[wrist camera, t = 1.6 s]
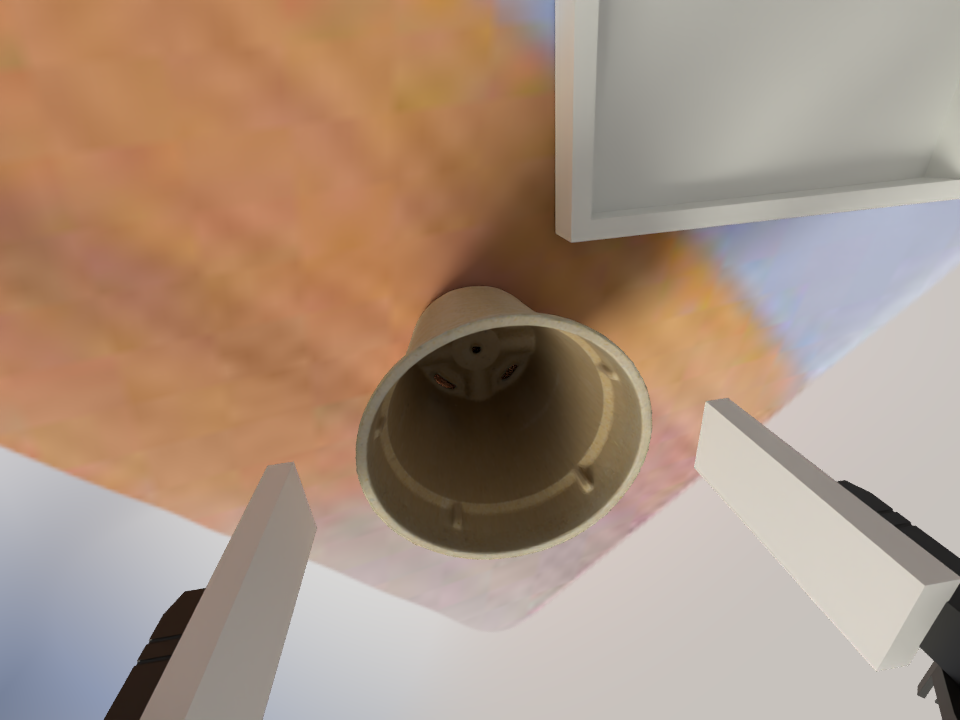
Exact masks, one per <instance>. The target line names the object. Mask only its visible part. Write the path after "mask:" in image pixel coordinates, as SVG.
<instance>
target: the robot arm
mask: <svg viewBox="0 0 960 720" xmlns="http://www.w3.org/2000/svg"><path fill="white" fill-rule="evenodd" d="M694 468H695V469H696V470H697V471H698V473H699V474H700V475H701V476H702V477H703V478H704V479H705V480H706V482H707V483H708V484H709V485H710V486H711V487H712V488H713V489H714V490H715V492H716V493H717V494H718V495H719V496H720V497H721V498H722V499H723V501H724V502H725V503H726V504H727V505H728V506H729V507H730V508H731V509H732V511H733V512H734V513H735V514H736V515H737V516H738V517H739V518H740V520H741V521H742V522H743V523H744V524H745V525H746V526H747V527H748V529H749V530H750V531H751V532H752V533H753V534H754V535H755V536H756V538H758V540H759V541H760V542H761V543H762V544H763V545H764V546H765V547H766V549H767V550H768V551H769V552H770V553H771V554H772V555H773V557H774V558H775V559H776V560H777V561H778V562H779V563H780V564H781V566H782V567H783V568H784V569H785V570H786V571H787V572H788V573H789V574H790V576H791V577H793V579H794V580H795V581H796V582H797V583H798V584H799V586H800V587H801V588H802V589H803V590H804V591H805V592H806V593H807V595H808V596H809V597H810V598H811V599H812V600H813V601H814V602H815V604H816V605H817V606H818V607H819V608H820V609H821V610H822V611H823V612H824V614H825V615H826V616H827V617H828V618H829V619H830V620H831V622H832V623H833V624H834V625H835V626H836V627H837V628H838V629H839V631H840V632H841V633H842V634H843V635H844V636H845V637H846V638H847V639H848V640H849V642H850V643H851V644H852V645H853V646H854V647H855V648H856V649H857V651H858V652H859V653H860V654H861V655H862V656H863V657H864V659H865V660H866V661H867V662H868V663H869V664H870V665H871V666H872V667H873V669H874V670H875V671H876V672H877V671H882V670H887V669H892V668H897V667H902V666H907V665H909V664H910V663H911V661H912V659H913V658H914V656H915V654H916V653H917V651H918V650H919V648H921V649H923V651H925V653H927V654H928V655H929V656H930V657H931V658H932V659H933V660H934V662H933V664H932V665H931V667H930V668H929V670H928V671H927V673H926V674H925V676H924V677H923V679H922V680H921V682H920V683H919V685H918V693H917V695H918V696H920V697H923V698H925V697H926V696H927V694H928V693H929V691H930V690H931V688H932V687H933V685H934V688H935V692H936V696H937V699H936V700H935V703H937V704H939V708H940V712H941V716H942V720H960V558H958V557H957V556H956V555H954V554H953V553H952V552H951V551H949V550H948V549H946V548H945V547H944V546H942V545H941V544H940V543H938V542H937V541H936V540H934V539H933V538H932V537H930V536H929V535H927V534H926V533H925V532H923V531H922V530H921V529H919V528H918V527H917V526H912V525H911V522H910V521H908V520H907V519H905V518H904V517H903V516H901V515H900V514H899V513H898V512H893V509H892V508H891V507H889V506H888V505H887V504H885V503H884V502H882V501H881V500H880V499H878V498H877V497H876V496H874V495H873V494H872V493H870V492H868V491H866V490H864V489H862V488H860V487H858V486H855V485H853V484H852V483H850V482H848V481H845V480H844V481H838V482H836V481H835V480H834V479H832V478H831V477H830V476H828V475H827V474H826V473H824V472H823V471H822V470H821V469H819V468H818V467H817V466H816V465H814V464H813V463H812V462H810V461H809V460H808V459H806V458H805V457H804V456H803V455H801V454H800V453H799V452H797V451H796V450H795V449H793V448H792V447H791V446H790V445H788V444H787V443H785V442H784V441H783V440H782V439H780V438H779V437H778V436H777V435H775V434H774V433H773V432H771V431H770V430H769V429H767V428H766V427H765V426H764V425H762V424H761V423H760V422H758V421H757V420H756V419H755V418H753V417H752V416H751V415H749V414H748V413H747V412H745V411H744V410H743V409H742V408H740V407H739V406H738V405H736V404H735V403H734V402H732V401H731V400H730V399H729V398H724V399H718V400H711V401H706V402H705V408H704V414H703V420H702V425H701V431H700V437H699V442H698V448H697V454H696V460H695V465H694ZM316 529H317V526H316V524H315V521H314V518H313V515H312V512H311V509H310V507H309V504H308V501H307V498H306V495H305V492H304V490H303V487H302V484H301V481H300V478H299V475H298V473H297V470H296V467H295V464H294V462H288V463H282V464H275V465H268V466H267V468H266V470H265V472H264V474H263V476H262V478H261V480H260V482H259V484H258V486H257V488H256V490H255V492H254V494H253V496H252V498H251V500H250V502H249V504H248V506H247V507H246V509H245V511H244V513H243V515H242V517H241V519H240V521H239V523H238V525H237V527H236V529H235V531H234V533H233V535H232V537H231V539H230V541H229V543H228V545H227V547H226V549H225V551H224V553H223V555H222V557H221V559H220V561H219V563H218V565H217V567H216V569H215V571H214V573H213V575H212V577H211V579H210V581H209V583H208V585H207V587H206V588H203V589H198V590H191V591H185V592H184V593H183V594H182V595H181V596H180V597H179V598H178V599H177V601H176V602H175V603H174V604H173V605H172V606H171V607H170V608H169V609H168V610H167V611H166V613H164V614H163V616H162V618H161V620H160V621H159V623H158V625H157V627H156V628H155V630H154V632H153V634H152V636H151V638H150V639H149V644H147V645H146V646H145V648H144V650H143V651H142V653H141V655H140V657H139V658H138V660H137V665H136V666H134V667H133V669H132V671H131V672H130V674H129V676H128V678H127V680H126V681H125V683H124V685H123V687H122V688H121V690H120V692H119V694H118V696H117V697H116V699H115V701H114V702H113V704H112V706H111V708H110V709H109V711H108V713H107V715H106V717H105V718H104V720H263V716H264V713H265V709H266V705H267V702H268V699H269V695H270V691H271V688H272V685H273V681H274V677H275V674H276V670H277V667H278V663H279V660H280V656H281V653H282V649H283V645H284V642H285V639H286V635H287V631H288V628H289V625H290V621H291V617H292V614H293V610H294V607H295V603H296V600H297V596H298V593H299V589H300V586H301V582H302V579H303V575H304V571H305V568H306V565H307V561H308V558H309V554H310V550H311V547H312V543H313V540H314V536H315V533H316Z"/></svg>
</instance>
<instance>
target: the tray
mask: <svg viewBox="0 0 960 720" xmlns="http://www.w3.org/2000/svg"><path fill="white" fill-rule="evenodd" d="M953 199H960V0H555V233H556V234H557V235H559V236H561V237H562V238H564V239H566V240H567V241H569V242H571V243H573V242H582V241H591V240H600V239H609V238H617V237H626V236H635V235H644V234H653V233H662V232H670V231H679V230H688V229H697V228H706V227H715V226H724V225H732V224H741V223H750V222H759V221H768V220H777V219H785V218H794V217H803V216H812V215H821V214H830V213H838V212H847V211H856V210H865V209H874V208H883V207H892V206H900V205H909V204H918V203H927V202H936V201H945V200H953Z"/></svg>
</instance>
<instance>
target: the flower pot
mask: <svg viewBox="0 0 960 720" xmlns="http://www.w3.org/2000/svg"><path fill="white" fill-rule="evenodd" d="M474 346H476V347H477V346H478V347H480V348H481V350H480V352H479V353H474V352H472V347H474ZM513 364H515V365H518V367H517V368H516V369H515V371H514V372H513V373H512V374H511V375H510V376H509V377H508V378H506V379H501V377H502V376H503V375H504V374H505V372H506V369H509V368H510V367H511V366H512V365H513ZM436 374H438V375H440V376H441V377H442V378H444V379H445V380H447V381H448V382H450V383H451V384H454V385H455V388H454V389H451V388H446V387H443V386H442V385H441V384H439V383H438V382H437V381H436V380H435V378H434V376H435V375H436ZM651 433H652V410H651V403H650V398H649V394H648V391H647V387H646V385H645V383H644V381H643V378H642V377H641V376H640V373H639V371H638V370H637V369H636V367H635V365H634V363H633V362H632V361H631V360H630V359H629V358H628V356H626V355H625V353H624V352H623V351H622V350H621V349H620V348H619V347H618V346H617V345H615V344H614V343H613V342H612V341H610V340H609V339H608V338H607V337H605V336H604V335H602V334H601V333H599V332H597V331H595V330H594V329H592V328H590V327H588V326H586V325H583V324H581V323H578V322H576V321H574V320H571V319H568V318H563V317H560V316H556V315H551V314H544V313H536V312H535V311H533V310H532V309H530V308H529V307H527V306H526V305H525V304H523V303H522V302H521V301H520V300H519V299H517V298H516V297H514V296H513V295H511V294H509V293H507V292H505V291H503V290H501V289H498V288H494V287H490V286H471V287H464V288H460V289H455V290H452V291H450V292H448V293H446V294H444V295H442V296H441V297H439V298H438V299H436V300H435V301H434V302H432V303H431V304H430V305H429V306H428V307H427V308H426V310H425V311H424V312H423V313H422V315H421V316H420V318H419V320H418V322H417V324H416V326H415V329H414V331H413V335H412V338H411V341H410V344H409V347H408V350H407V352H406V355H405V356H404V357H403V358H402V359H401V360H399V361H398V362H397V363H396V364H395V365H394V366H393V367H392V368H391V369H390V370H389V372H388V373H387V374H386V375H385V376H384V378H383V379H382V380H381V382H380V383H379V385H378V386H377V388H376V390H375V391H374V393H373V394H372V396H371V398H370V400H369V402H368V404H367V406H366V408H365V410H364V413H363V416H362V418H361V422H360V425H359V430H358V434H357V441H356V466H357V474H358V479H359V481H360V484H361V487H362V489H363V493H364V494H365V497H366V498H367V500H368V502H369V503H370V505H371V508H372V509H373V511H374V512H375V513H376V514H377V515H378V516H379V517H380V519H381V520H382V521H383V522H384V523H386V524H387V526H388V527H389V528H391V529H392V530H393V531H394V532H396V533H397V534H398V535H400V536H402V537H404V538H406V539H407V540H409V541H411V542H412V543H413V544H415V545H419V546H421V547H423V548H426V549H429V550H432V551H434V552H437V553H441V554H445V555H448V556H453V557H459V558H466V559H477V560H478V559H502V558H509V557H517V556H523V555H526V554H531V553H535V552H539V551H543V550H545V549H547V548H551V547H553V546H555V545H558V544H561V543H564V542H565V541H567V540H569V539H572V538H573V537H575V536H577V535H578V534H579V533H581V532H584V531H585V530H586V529H587V528H589V527H590V526H592V525H594V524H596V523H597V522H598V520H600V519H601V518H603V517H604V516H605V515H607V514H608V512H609V511H611V508H612V507H613V506H615V505H616V504H617V502H618V501H619V500H620V499H621V498H622V497H623V495H624V494H625V493H626V492H627V490H628V489H629V488H630V486H631V485H632V483H633V482H634V480H635V478H636V477H637V475H638V473H639V472H640V468H641V467H642V465H643V463H644V460H645V458H646V455H647V452H648V450H649V449H648V447H649V443H650V439H651Z"/></svg>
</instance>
